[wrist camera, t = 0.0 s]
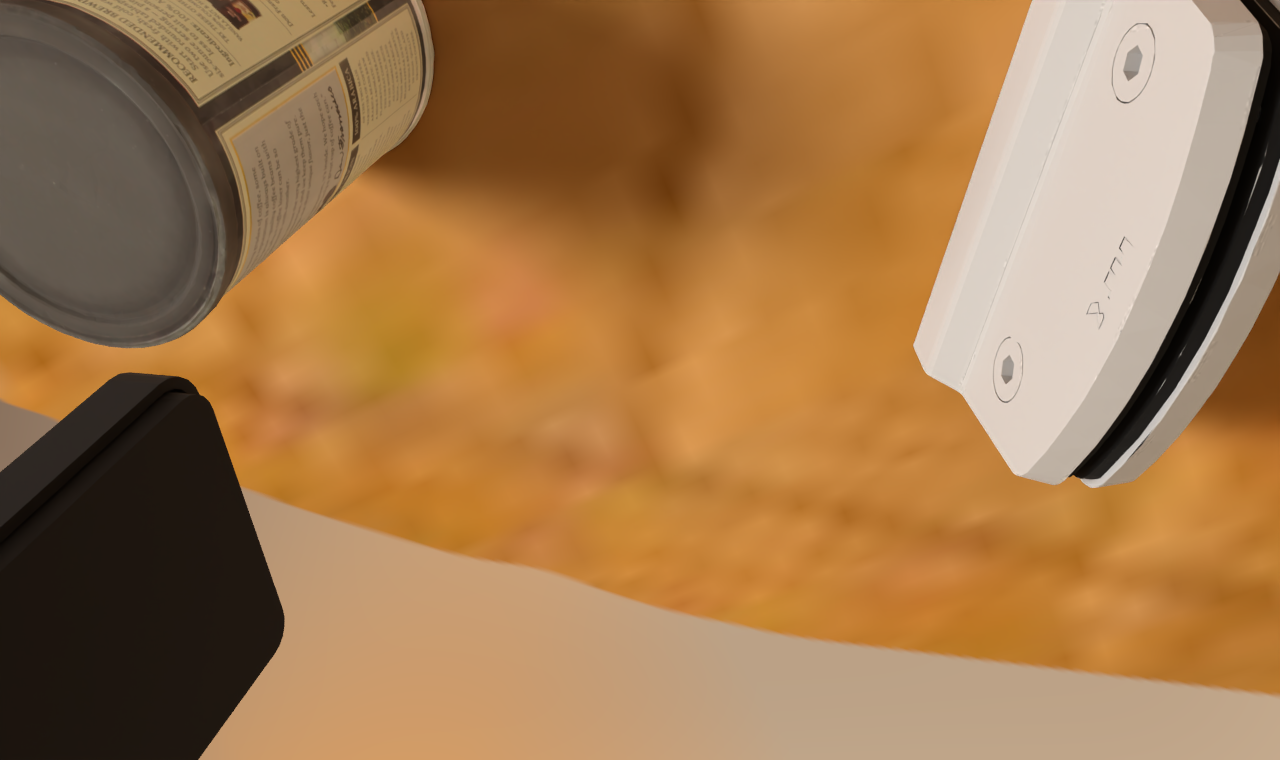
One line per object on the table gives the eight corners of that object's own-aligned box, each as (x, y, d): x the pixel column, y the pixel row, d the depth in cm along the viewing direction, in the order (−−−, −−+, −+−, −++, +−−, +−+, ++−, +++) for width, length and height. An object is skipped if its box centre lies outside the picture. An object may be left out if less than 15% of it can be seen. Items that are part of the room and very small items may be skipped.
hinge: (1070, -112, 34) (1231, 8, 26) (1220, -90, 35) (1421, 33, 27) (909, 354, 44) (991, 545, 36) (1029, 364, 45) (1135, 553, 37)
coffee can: (202, 136, 48) (-59, 306, 36) (168, -135, 42) (-157, -31, 30) (438, 190, 46) (241, 386, 35) (438, -84, 40) (200, 45, 29)
